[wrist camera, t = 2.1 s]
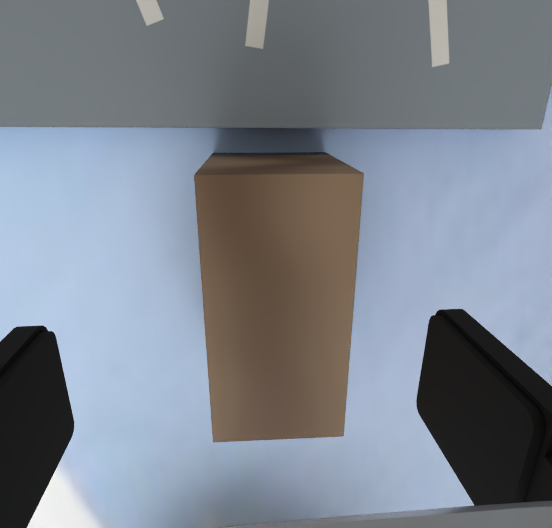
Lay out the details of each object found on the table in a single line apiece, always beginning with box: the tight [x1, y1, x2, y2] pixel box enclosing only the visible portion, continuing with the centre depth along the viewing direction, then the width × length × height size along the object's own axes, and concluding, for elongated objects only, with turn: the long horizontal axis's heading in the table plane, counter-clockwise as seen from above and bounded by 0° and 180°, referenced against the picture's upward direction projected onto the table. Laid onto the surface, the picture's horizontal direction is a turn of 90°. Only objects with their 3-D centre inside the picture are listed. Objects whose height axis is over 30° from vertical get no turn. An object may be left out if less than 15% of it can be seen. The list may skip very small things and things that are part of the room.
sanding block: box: [194, 152, 364, 442], centre depth 15 cm, size 4×9×6 cm, turn 0°
